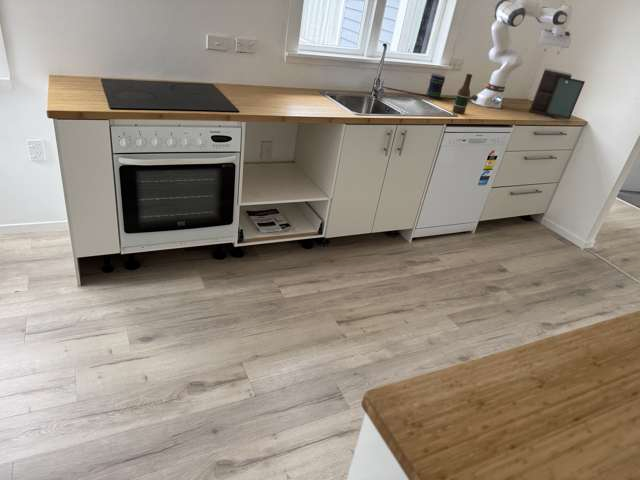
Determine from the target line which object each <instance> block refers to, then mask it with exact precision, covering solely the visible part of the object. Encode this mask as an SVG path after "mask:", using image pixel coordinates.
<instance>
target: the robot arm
mask: <svg viewBox="0 0 640 480" xmlns="http://www.w3.org/2000/svg"><path fill="white" fill-rule="evenodd" d="M573 11H574V8H573V6H570V5H567V4H562V5H561V6H560V7H558V8H551V7H547V6H543V3H542V1H541V0H515V2H514V3H513V2H511V1H510V0H499V1H498V2H497V3H496V5H495V6H494V16H493V17H494V19H495V21H494V22H493V23H492V25H491V37H492V42H493V47H492V48H491V49H490V50H489V52H488V59H489V61H491V62H492V63H495V64H498V65H501V67H500V68H499V69H496V70H494V71H493V72H492V73H491V76H490V79H489V82H488V83H485V84H483V86H484V87H485V88H484V89H483V90H482V91H480V92H479V93H477V94H472V96H470V97H469V100H470V99H471V101H470V102H471V103H473V104H475V105H478V106H481V107H483V108H484V107H485V108H496V109H501V108H502V102H503V97H504V96H503V95H504V91H505V89H506V84H507V81H508V79H509V76H510V75H511V74H512V73H513V71H514V70H516V69H517V68H519V67H521V66H522V65H523V63H524V62H525V55H524V53H523V52H521V51H519V50H517V49H512V48H510V46H511V45H512V36H511V32H510V27H512V28H515V27H518V26H520V25H521V24H522V22H523V21H524V19H525V16H528V17H532V18H535V19H536V21H537V22H538V23H539V24H546V25H552V29H548V28H545V29H542V31H541V35H540V38H539V41H538V42H539V43H540V44H543V49H542V51H543V52H546V50H547V48H546V46H547V45H548V46H549V45H550V46H554V47H560V50H557V52H556V54H558V55H559V54H560V53H561V51H562V50H563V49H569V48H570V46H571V42H572V36H573V33H572V32H570V30H568V25H569V23H570V21H571V19H572V15H573V13H574V12H573ZM383 89H387V90H393V91H398V92H403V93H407V94H413V95H419V96H424V97H427V94H425V93H419V92H414V91H408V90H402V89H398V88H392V87H388V86H383ZM440 99H445V100H447V99H448V100H456V97H446V96H440Z"/></svg>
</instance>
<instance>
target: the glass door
mask: <svg viewBox="0 0 640 480" xmlns="http://www.w3.org/2000/svg"><path fill="white" fill-rule="evenodd" d="M585 83H586V81H585V80H581V79H576V78H572V77H571V78H567V77H562V76H559V78H558V80H557V83H556V86H555V88H554V91H553V93H552V96H551V99H550V101H549V104H548V106H547V109H546V112H545V114H549V115H553V116H555V117H558V118H562V119H566V120H570V119H571V116H572V114H573V112H574V109H575V107H576V105H577V102H578V100H579V97H580V95H581V93H582V90H583V87H584V85H585Z"/></svg>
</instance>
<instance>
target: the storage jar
mask: <svg viewBox="0 0 640 480" xmlns="http://www.w3.org/2000/svg"><path fill="white" fill-rule="evenodd" d="M445 80H446V76H445V75H442V74H437V73H431V76H430V78H429V84H428V87H427V90H426V95H427V96H426V97H427V98H429V99H433V100H440V99H441V98H440V97H441V96H442V90H443V86H444V84H445Z"/></svg>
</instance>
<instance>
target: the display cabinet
mask: <svg viewBox="0 0 640 480" xmlns="http://www.w3.org/2000/svg"><path fill="white" fill-rule="evenodd" d="M559 76H562V77H567V78H571V79H572V76H573V74H572V73H571V72H565V71H561V70H557V69H552V68H548V67H545V68H544V70H543V73H542V76H541V79H540V81H539V84H538V87H537V89H536V92H535V95H534V97H533V100H532V102H531V105H530V108H529V111H528V112H529V113H531V114H536V115H540V116H544V117H548V118H553V119H555V118H556V116H553V115H549V114H545V112H546V109H547V106H548V104H549V101H550V99H551V96H552V93H553V91H554V88H555V86H556V83H557V80H558V78H559Z"/></svg>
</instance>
